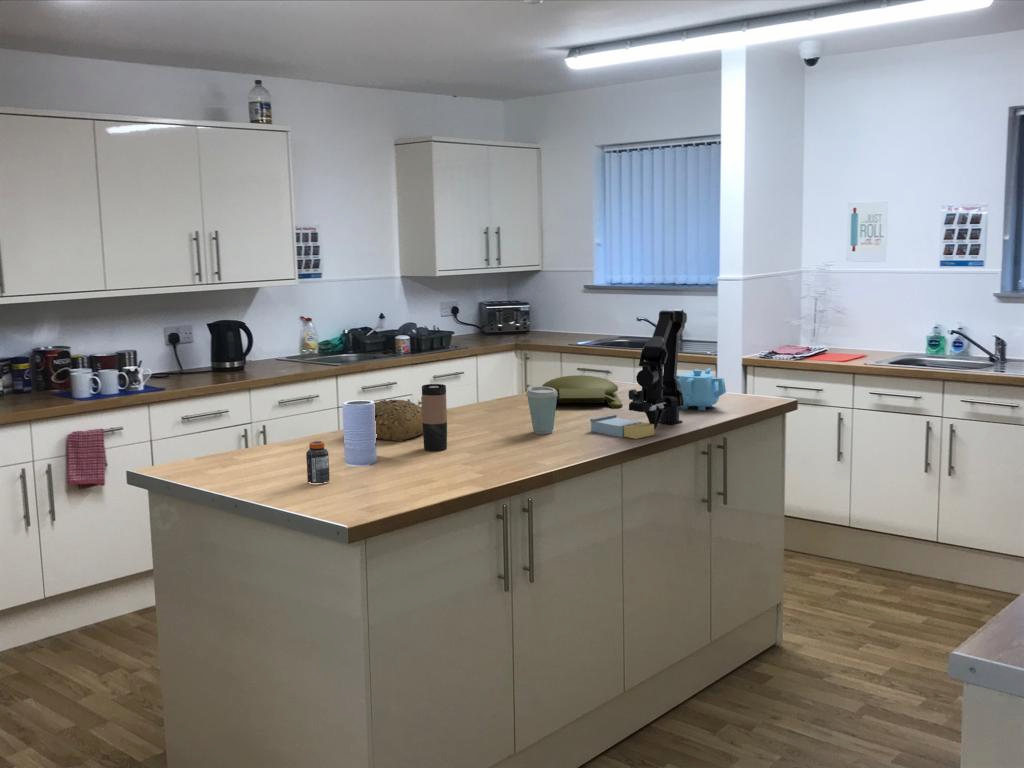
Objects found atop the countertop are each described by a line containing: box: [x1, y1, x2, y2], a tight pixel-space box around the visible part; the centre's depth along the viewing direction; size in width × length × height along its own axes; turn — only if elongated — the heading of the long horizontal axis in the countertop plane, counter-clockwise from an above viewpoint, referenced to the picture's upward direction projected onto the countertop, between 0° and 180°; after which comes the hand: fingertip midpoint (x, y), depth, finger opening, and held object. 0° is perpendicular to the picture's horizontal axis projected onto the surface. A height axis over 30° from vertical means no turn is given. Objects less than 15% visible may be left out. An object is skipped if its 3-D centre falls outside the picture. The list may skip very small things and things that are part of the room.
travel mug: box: [421, 383, 448, 452], centre depth 310 cm, size 8×8×20 cm
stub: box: [623, 421, 655, 440], centre depth 326 cm, size 9×5×4 cm, turn 131°
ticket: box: [589, 414, 641, 438], centre depth 334 cm, size 11×14×4 cm
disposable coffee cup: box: [525, 385, 558, 435], centre depth 334 cm, size 11×11×15 cm
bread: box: [374, 399, 423, 442], centre depth 334 cm, size 24×21×12 cm
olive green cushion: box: [541, 374, 623, 409], centre depth 393 cm, size 35×31×10 cm
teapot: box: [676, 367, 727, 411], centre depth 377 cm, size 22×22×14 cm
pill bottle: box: [305, 440, 331, 483], centre depth 272 cm, size 6×6×11 cm
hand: (653, 429), depth 331 cm, fingers closed
